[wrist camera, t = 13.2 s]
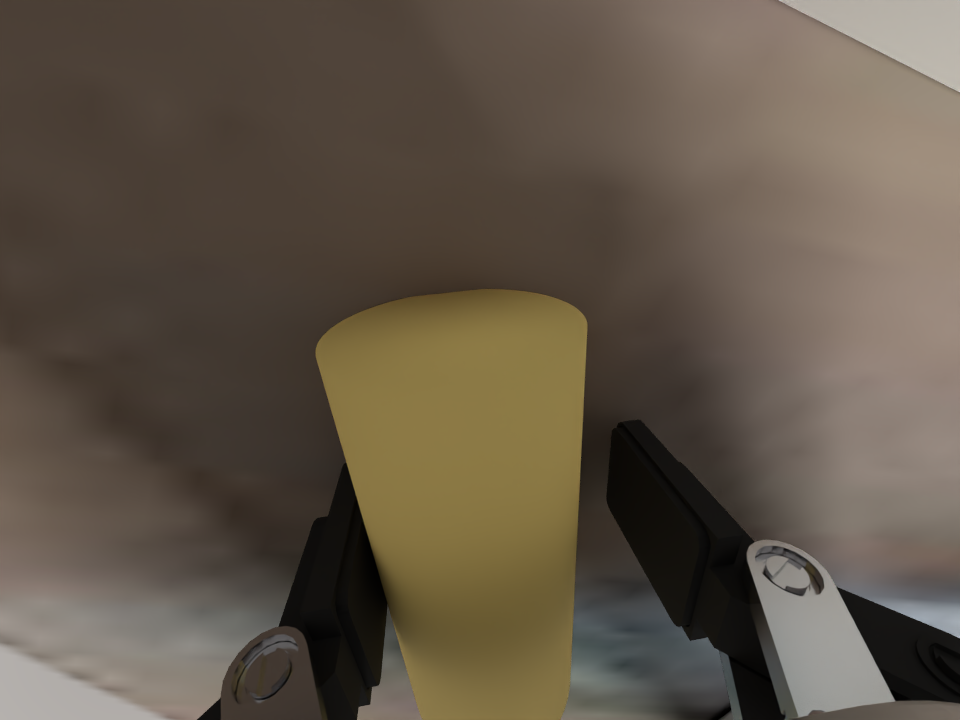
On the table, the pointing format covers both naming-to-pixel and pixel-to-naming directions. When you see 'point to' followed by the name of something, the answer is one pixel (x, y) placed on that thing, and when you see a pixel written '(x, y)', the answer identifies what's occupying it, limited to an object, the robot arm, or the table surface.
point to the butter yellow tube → (469, 488)
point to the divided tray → (899, 30)
